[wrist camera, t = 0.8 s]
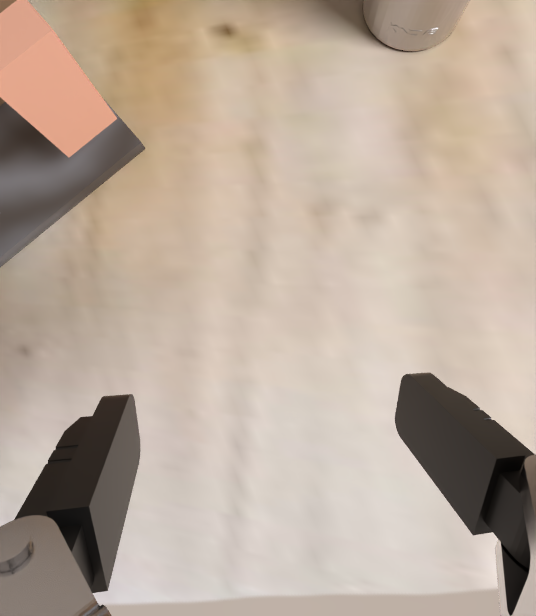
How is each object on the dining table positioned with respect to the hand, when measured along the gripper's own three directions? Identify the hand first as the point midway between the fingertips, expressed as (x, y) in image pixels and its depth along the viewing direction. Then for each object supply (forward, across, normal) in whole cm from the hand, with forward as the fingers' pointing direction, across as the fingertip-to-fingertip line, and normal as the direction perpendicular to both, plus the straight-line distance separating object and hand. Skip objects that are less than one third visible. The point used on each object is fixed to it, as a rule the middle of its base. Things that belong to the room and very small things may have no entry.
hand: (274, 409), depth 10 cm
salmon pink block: (+26, +13, -11) cm, 31 cm away
